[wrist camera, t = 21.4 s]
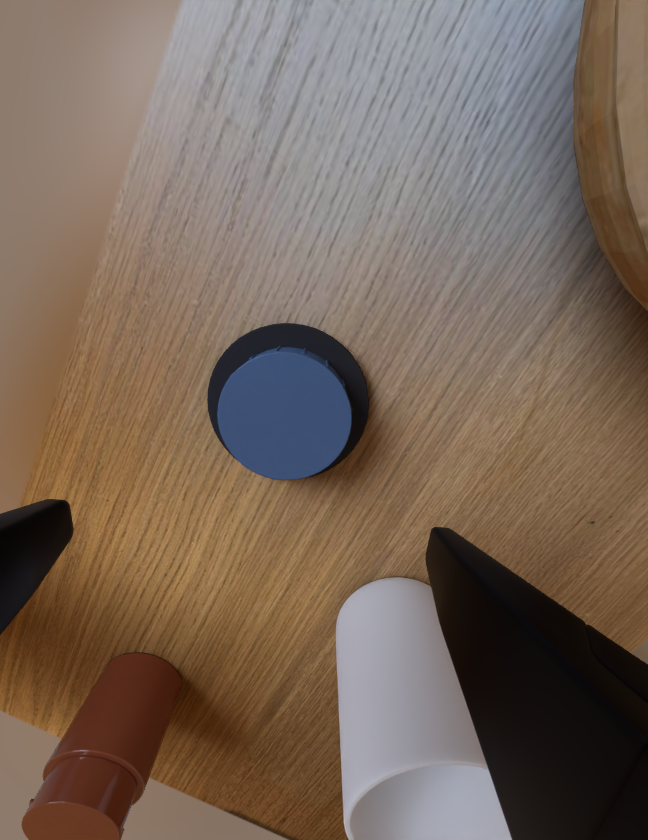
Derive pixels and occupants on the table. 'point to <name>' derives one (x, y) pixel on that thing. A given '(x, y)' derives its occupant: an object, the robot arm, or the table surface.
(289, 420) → the jar lid
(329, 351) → the coaster
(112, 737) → the jar
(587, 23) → the ceramic bowl
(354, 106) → the table surface
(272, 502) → the table surface
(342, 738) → the mug
